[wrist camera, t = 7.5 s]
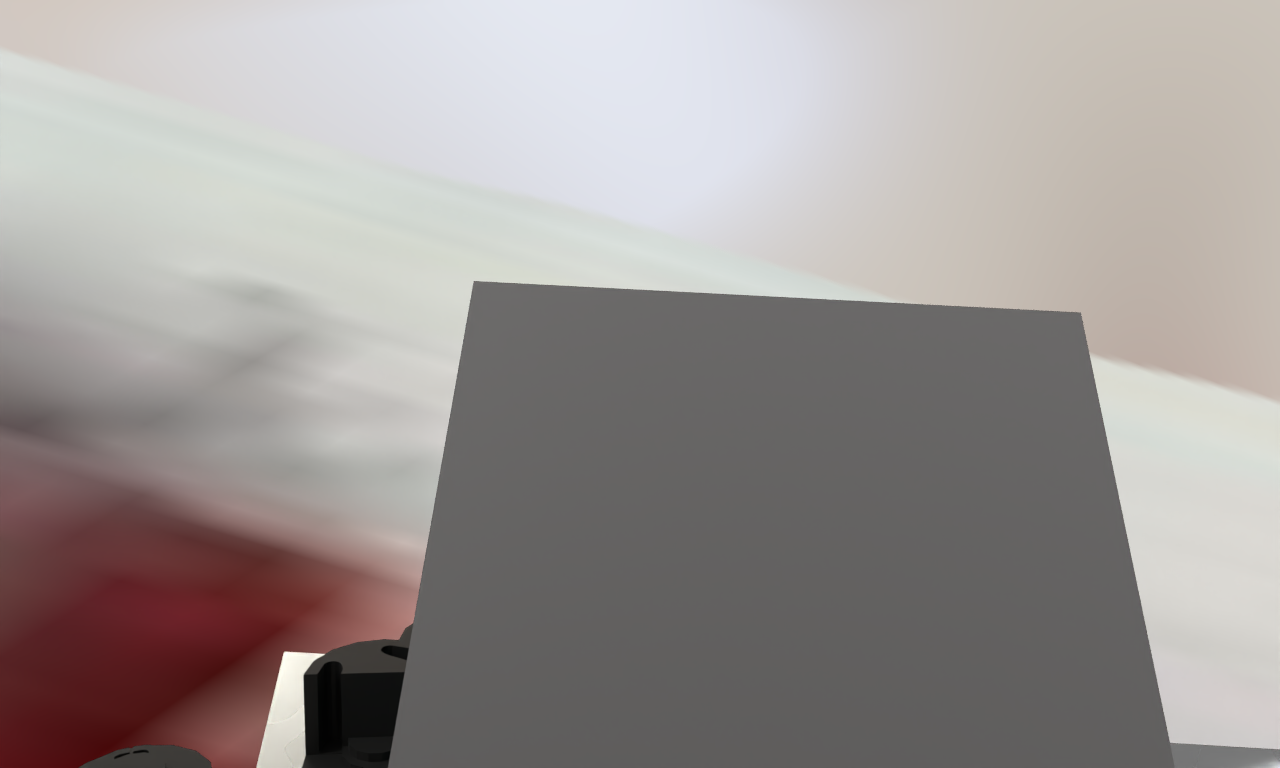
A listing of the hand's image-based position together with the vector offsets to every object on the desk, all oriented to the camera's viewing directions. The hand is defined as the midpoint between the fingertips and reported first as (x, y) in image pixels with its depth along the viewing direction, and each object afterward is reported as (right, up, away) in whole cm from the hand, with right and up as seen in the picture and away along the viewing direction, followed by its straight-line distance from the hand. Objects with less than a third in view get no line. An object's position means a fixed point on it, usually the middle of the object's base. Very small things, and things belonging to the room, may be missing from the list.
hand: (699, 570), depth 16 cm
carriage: (0, -5, +1) cm, 5 cm away
